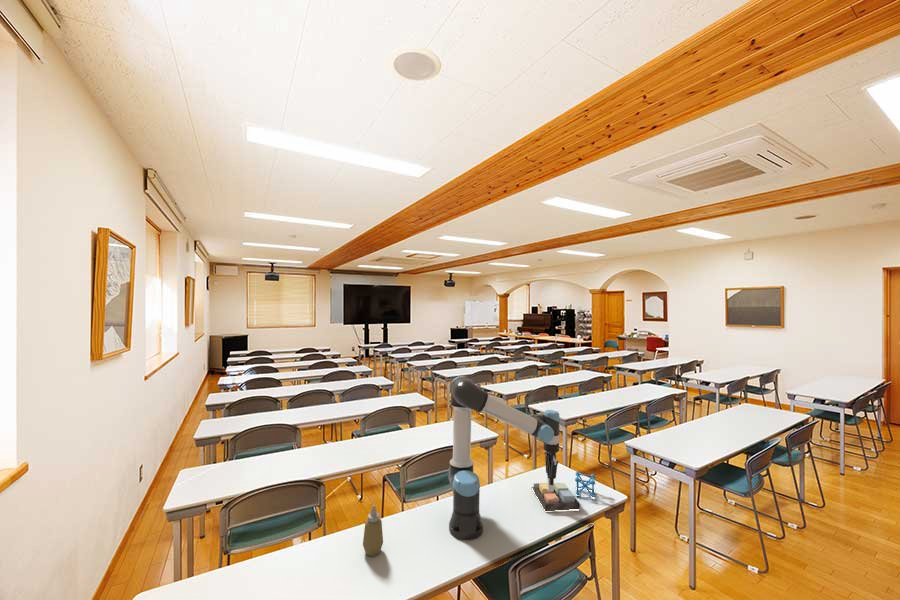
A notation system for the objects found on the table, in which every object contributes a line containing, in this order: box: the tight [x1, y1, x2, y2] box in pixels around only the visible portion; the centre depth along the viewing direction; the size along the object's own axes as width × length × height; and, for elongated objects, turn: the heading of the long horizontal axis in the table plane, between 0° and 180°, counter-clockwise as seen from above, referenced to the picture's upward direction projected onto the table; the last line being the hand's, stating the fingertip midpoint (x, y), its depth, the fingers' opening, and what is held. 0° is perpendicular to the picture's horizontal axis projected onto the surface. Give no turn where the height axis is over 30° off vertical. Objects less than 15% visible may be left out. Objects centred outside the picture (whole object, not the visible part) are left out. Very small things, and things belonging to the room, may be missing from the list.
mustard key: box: [539, 484, 553, 495], centre depth 189 cm, size 6×6×3 cm
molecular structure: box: [574, 471, 596, 498], centre depth 194 cm, size 10×10×10 cm
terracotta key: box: [544, 493, 559, 503], centre depth 181 cm, size 6×6×3 cm
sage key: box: [554, 482, 569, 494], centre depth 189 cm, size 6×6×3 cm
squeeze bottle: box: [362, 504, 384, 557], centre depth 146 cm, size 8×8×18 cm
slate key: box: [560, 489, 576, 502], centre depth 181 cm, size 6×6×3 cm
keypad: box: [531, 482, 581, 512], centre depth 188 cm, size 17×23×4 cm
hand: (550, 490), depth 181 cm, fingers closed
